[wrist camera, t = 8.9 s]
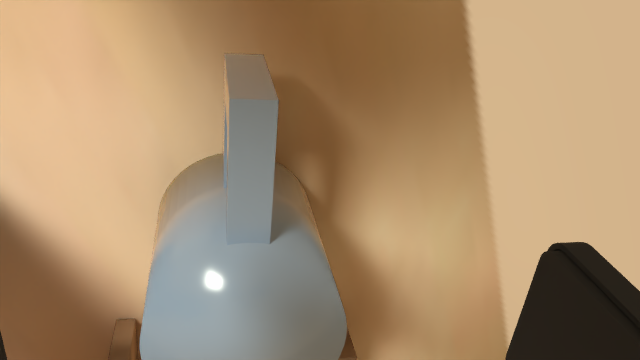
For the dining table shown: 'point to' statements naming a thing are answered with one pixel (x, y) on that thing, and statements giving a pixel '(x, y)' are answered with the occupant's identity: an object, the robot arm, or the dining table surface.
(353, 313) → the dining table surface
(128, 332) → the caddy
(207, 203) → the grey-blue mug
